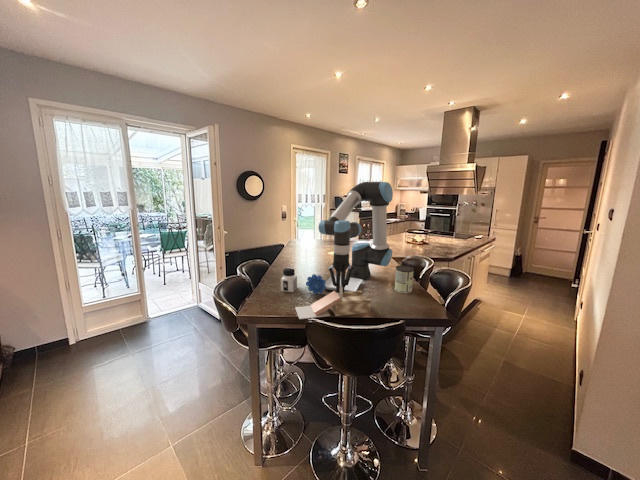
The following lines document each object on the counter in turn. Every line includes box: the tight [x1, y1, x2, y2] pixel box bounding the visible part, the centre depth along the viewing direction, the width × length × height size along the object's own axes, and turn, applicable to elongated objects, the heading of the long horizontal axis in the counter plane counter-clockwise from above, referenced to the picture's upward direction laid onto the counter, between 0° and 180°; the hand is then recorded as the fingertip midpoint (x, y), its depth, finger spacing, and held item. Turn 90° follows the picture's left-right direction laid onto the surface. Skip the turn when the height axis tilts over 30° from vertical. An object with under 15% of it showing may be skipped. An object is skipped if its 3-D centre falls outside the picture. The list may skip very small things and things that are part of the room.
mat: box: [294, 305, 331, 320], centre depth 129 cm, size 15×12×1 cm
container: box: [280, 267, 298, 293], centre depth 156 cm, size 8×8×13 cm
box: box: [329, 290, 372, 317], centre depth 132 cm, size 18×12×7 cm, turn 105°
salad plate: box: [324, 274, 364, 292], centre depth 162 cm, size 21×21×3 cm
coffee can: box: [394, 265, 415, 294], centre depth 157 cm, size 10×10×14 cm
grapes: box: [305, 273, 327, 295], centre depth 149 cm, size 12×7×12 cm, turn 99°
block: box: [310, 290, 341, 316], centre depth 129 cm, size 14×9×2 cm, turn 104°
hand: (340, 298), depth 130 cm, fingers closed
